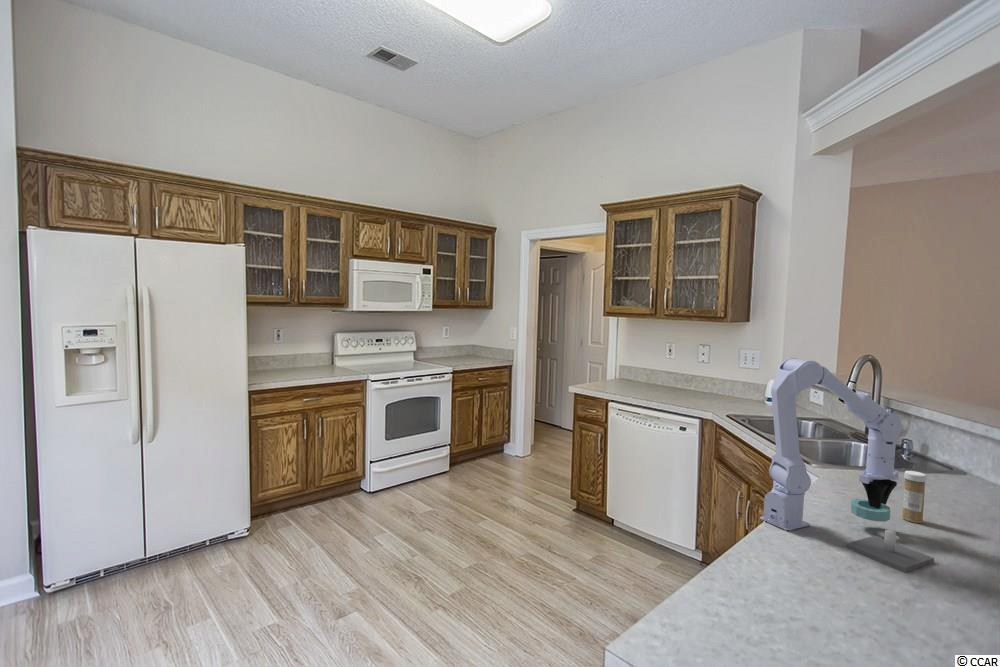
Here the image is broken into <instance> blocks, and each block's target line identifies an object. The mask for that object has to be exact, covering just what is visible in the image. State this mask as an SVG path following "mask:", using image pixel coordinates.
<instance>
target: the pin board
mask: <svg viewBox="0 0 1000 667" xmlns="http://www.w3.org/2000/svg"><path fill="white" fill-rule="evenodd" d="M896 536H897V532H895V531H893V530H890V529H885V530H884V538H883V537H881V536H878V535H871V536H868V537H865V538H862V539H861V538H859V539H857V540H853V541H851V542H848V543H846V546H845V547H847V549H849V550H851V549H852V550H851V551H853V550H854V551H853V552H856V553H858V554H861V555H863V556H865V557H868V558H870V559H873V560H875V561H878V562H880V563H882V564H884V565H887V566H888V567H891V568H894V569H896V570H898V571H901V572H903V573H908V572H910V571H913V570H915V569H919V568H922V567H924V566H927V565H930V564H933V563H934V562H935V557H932V556H930V555H927V554H925V553H922V552H919V551H916V550H914V549H912V548H910V547H907V546H905V545H904V546H903V545H901V544H899V543H897V542H896V540H897V538H896Z"/></svg>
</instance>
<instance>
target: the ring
mask: <svg viewBox="0 0 1000 667" xmlns="http://www.w3.org/2000/svg"><path fill="white" fill-rule="evenodd" d="M850 503H851V504H850V505H851V506H850V510H851V512H850V513H852V514H853V515H854V516H856V517H858V518H862V519H864V520H868V521H873V522H888V521H890V519H891V508H890V506H888V505H887V504H886V505H885V504H883V503H881V506H880V508H879V509H877V508H874V507H871V506H869V502H868V498H867V499H866V498H855V499H851V502H850Z"/></svg>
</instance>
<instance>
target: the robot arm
mask: <svg viewBox="0 0 1000 667" xmlns="http://www.w3.org/2000/svg"><path fill="white" fill-rule="evenodd" d="M773 381H774V382H773V383H772V385H771V389H770V391H771V392H770V394H771V405H772V415H773V416H772V418H773V427H774V428H773V429H774V430H773V431H774V438H775V439H774V441H775V451H776V453H774V454H773V455H772V456H771V464H770V466H769V469H768V470H769V477H770V478H771V479H772V480H773V481H772V482H773V484H772V485H773V486H772V489H771V491H769V492H767V493H766V494H765V495H764V498H763V514H762V516H759V518H760V520H762V521H764V522H766V521H767V523H768V524H771V525H773V526H776V527H778V528H780V529H783V530H785V531H787V530H789V531H792V530H797V529H800V528H806V527H808V526H810V525H811V523H809V522H807V521H804V504H805V503H804V502H805V493H806V492H807V491H809V489H810V487H811V483H812V480H811V479H812V478H811V476H810V475H809V473H808V471H807V466H806V463H805V462H804V460H803V458H802V457H801V454H800V452H801V451H800V442H799V440H800V439H799V431H798V427H799V426H798V418H797V416H798V414H797V407H796V397H797V396H798V395H799V394H800V393H801V392H803V391H804V390H806V389H809V388H811V387H813V386H815V385H819V386H821V387H823V388H825V389H826V390H828V391H829V392H831V393H832V394H833V395H835V396H836V397H838V398H839V399H841V400H843V401H844V407H845V409H846V410H848V412H851V413H852V414H853V415H854V416H855V417H857V418H858V419H860V420H861V421H862V422H863V424H864V426H865V427H866V428H868V440H867V454H866V466H865V468H866V469H865V470H864V471H863V472H862V473H859V475H858V476H859V477H858V482H860V483H861V484H862V486H863V488H864V490H865V493H866V498H867V500H868V502H869V506H871V507H874V508H877V509H879V508H880V506H881V503H883V504H885V505H886V506H887V502H888V499H889V498H890V496H891V494H892V492H893V490H894V489H895V488H896V487H897V486H898V482H897V481H898V480H899V474H900V472H899V470H896V469H895V460H896V458H895V456H896V448H897V447H896V446H897V441H898V438H899V435H900V434H901V433H902V431H903V430H904V426H905V425H904V424H903V423H902V421H901V418H900V417H899V416H898V415H897V414H895V413H892V412H888V410H887V407H886V406H884V405H882V404H878V402H876V401H875V400H873V399H872V398H873V396H872V395H871V394H869V393H867V392H860V391H859V392H855V391H853V390H852V388H850V387H849V386H848V385H847V384H845V383H844V382H843V381H842V380H841V379H839V378H838V377H837V376H836V375H834V374H833V372H831V371H830V370H829V369H828V368H827V367H825V366H824V365H821V364H820V363H818V362H817V361H815V360H805V359H800V358H797V357H790V358H787V359H785V360H784V361H782V363H780V364H779V365H778V366H777V374H776V376H775V378H774V380H773ZM768 519H769V520H768Z"/></svg>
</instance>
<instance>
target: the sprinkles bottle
mask: <svg viewBox="0 0 1000 667" xmlns="http://www.w3.org/2000/svg"><path fill="white" fill-rule="evenodd" d="M903 477H904V488H903V500H902V501H903V502H902V515H901V518H902V519H903V520H904V521H908V522H910V523H913V524H914V523H915V524H923V522H924V510H925V509H924V508H925V487H926V482H927V474H925V473H923V472H920V471H915V470H905V471H904V475H903Z"/></svg>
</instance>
